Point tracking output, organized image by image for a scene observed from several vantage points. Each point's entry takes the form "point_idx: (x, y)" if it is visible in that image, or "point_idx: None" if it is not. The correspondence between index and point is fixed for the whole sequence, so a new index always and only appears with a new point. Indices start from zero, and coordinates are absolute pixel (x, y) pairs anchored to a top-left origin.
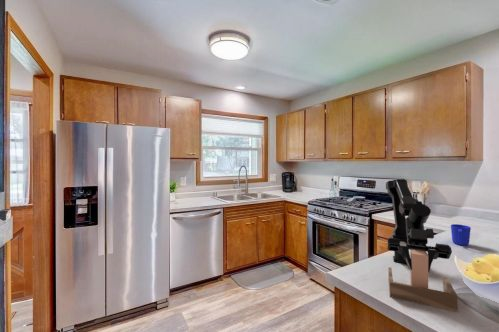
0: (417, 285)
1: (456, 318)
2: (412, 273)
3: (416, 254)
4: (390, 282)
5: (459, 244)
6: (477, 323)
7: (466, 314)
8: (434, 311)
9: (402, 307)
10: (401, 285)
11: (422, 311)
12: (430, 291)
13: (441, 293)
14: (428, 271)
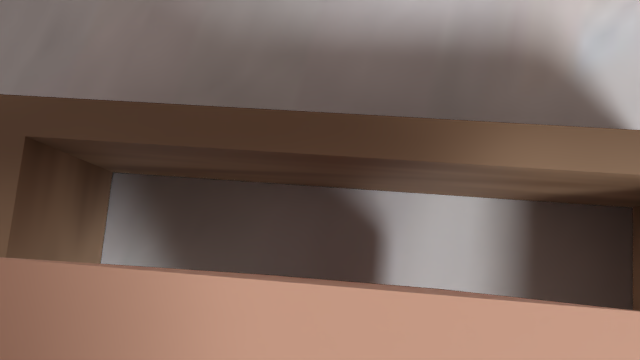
0: (381, 284)
1: (137, 26)
2: (468, 292)
3: (451, 295)
4: None
5: None
6: (6, 20)
7: None
8: (283, 64)
9: (557, 11)
10: (610, 132)
11: (388, 19)
12: (266, 111)
13: (152, 107)
14: None
